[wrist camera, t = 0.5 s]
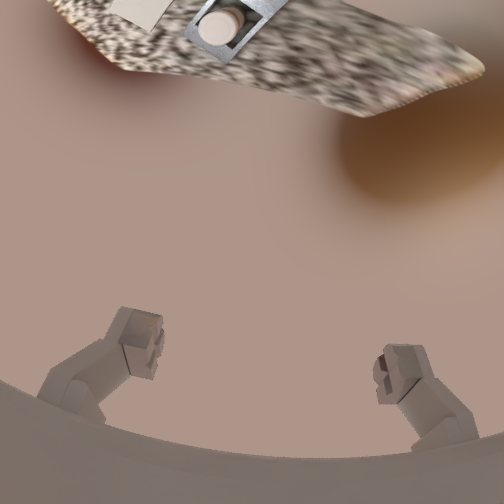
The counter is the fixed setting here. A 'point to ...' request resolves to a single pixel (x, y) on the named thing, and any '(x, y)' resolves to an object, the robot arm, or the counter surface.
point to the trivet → (141, 11)
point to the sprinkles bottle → (221, 25)
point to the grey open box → (265, 4)
